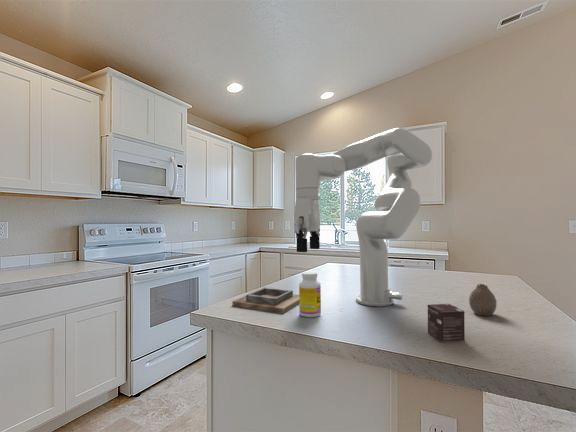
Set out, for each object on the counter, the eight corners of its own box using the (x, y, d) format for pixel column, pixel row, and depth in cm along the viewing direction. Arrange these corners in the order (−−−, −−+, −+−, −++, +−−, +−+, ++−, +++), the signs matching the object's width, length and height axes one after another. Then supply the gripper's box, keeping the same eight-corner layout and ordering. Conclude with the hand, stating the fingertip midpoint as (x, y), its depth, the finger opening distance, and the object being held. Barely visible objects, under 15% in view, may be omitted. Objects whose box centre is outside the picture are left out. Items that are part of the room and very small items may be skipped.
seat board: (305, 299, 109) (305, 290, 109) (283, 313, 94) (283, 302, 94) (259, 294, 118) (259, 285, 118) (232, 305, 103) (232, 295, 103)
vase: (492, 311, 92) (491, 283, 92) (500, 318, 86) (499, 288, 86) (467, 309, 95) (466, 281, 95) (472, 316, 88) (471, 286, 88)
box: (427, 333, 76) (426, 304, 76) (449, 332, 77) (449, 303, 77) (441, 343, 70) (440, 311, 70) (465, 341, 71) (465, 310, 71)
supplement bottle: (319, 318, 89) (319, 275, 89) (297, 317, 90) (297, 274, 90) (321, 311, 95) (321, 271, 95) (301, 310, 96) (300, 270, 97)
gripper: (308, 197, 102) (308, 247, 102) (283, 193, 87) (284, 252, 87) (328, 196, 99) (329, 248, 98) (307, 192, 83) (308, 254, 83)
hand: (308, 250), depth 93 cm, fingers open, 9 cm apart
